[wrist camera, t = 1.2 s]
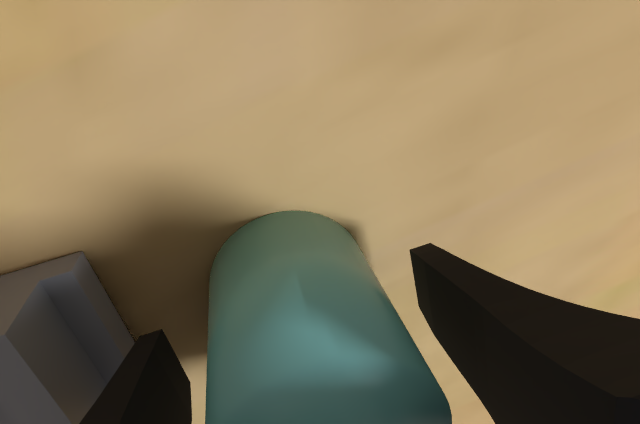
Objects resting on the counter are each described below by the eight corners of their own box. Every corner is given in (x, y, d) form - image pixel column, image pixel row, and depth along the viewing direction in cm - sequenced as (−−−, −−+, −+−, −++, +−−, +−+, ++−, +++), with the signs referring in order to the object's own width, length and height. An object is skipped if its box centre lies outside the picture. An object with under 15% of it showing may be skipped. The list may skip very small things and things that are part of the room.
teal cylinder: (375, 315, 15) (461, 485, 10) (238, 360, 15) (250, 564, 9) (346, 190, 13) (439, 322, 8) (185, 239, 12) (160, 416, 7)
